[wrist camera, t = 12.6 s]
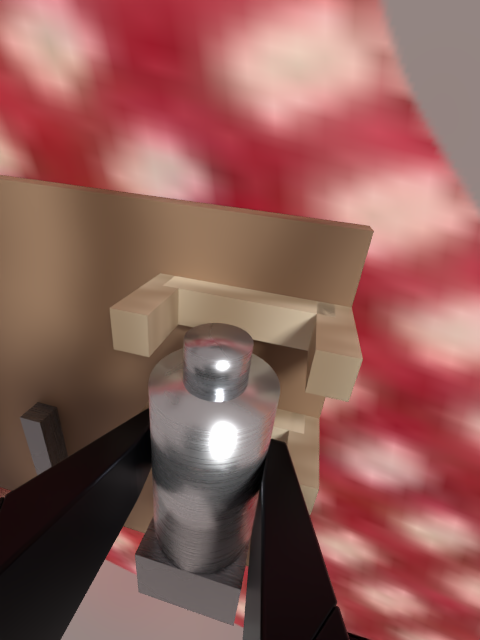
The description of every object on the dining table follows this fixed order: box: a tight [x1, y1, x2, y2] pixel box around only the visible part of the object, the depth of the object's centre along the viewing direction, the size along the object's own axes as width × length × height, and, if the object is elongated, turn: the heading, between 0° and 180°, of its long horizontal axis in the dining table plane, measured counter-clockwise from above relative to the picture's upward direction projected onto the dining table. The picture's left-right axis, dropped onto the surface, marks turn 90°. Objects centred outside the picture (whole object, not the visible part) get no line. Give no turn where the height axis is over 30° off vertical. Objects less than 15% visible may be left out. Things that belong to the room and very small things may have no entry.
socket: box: [20, 402, 68, 475], centre depth 15 cm, size 6×4×1 cm
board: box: [0, 175, 374, 566], centre depth 14 cm, size 18×18×1 cm
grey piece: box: [135, 323, 280, 625], centre depth 8 cm, size 8×3×3 cm, turn 174°
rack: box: [110, 273, 363, 515], centre depth 10 cm, size 6×6×3 cm
